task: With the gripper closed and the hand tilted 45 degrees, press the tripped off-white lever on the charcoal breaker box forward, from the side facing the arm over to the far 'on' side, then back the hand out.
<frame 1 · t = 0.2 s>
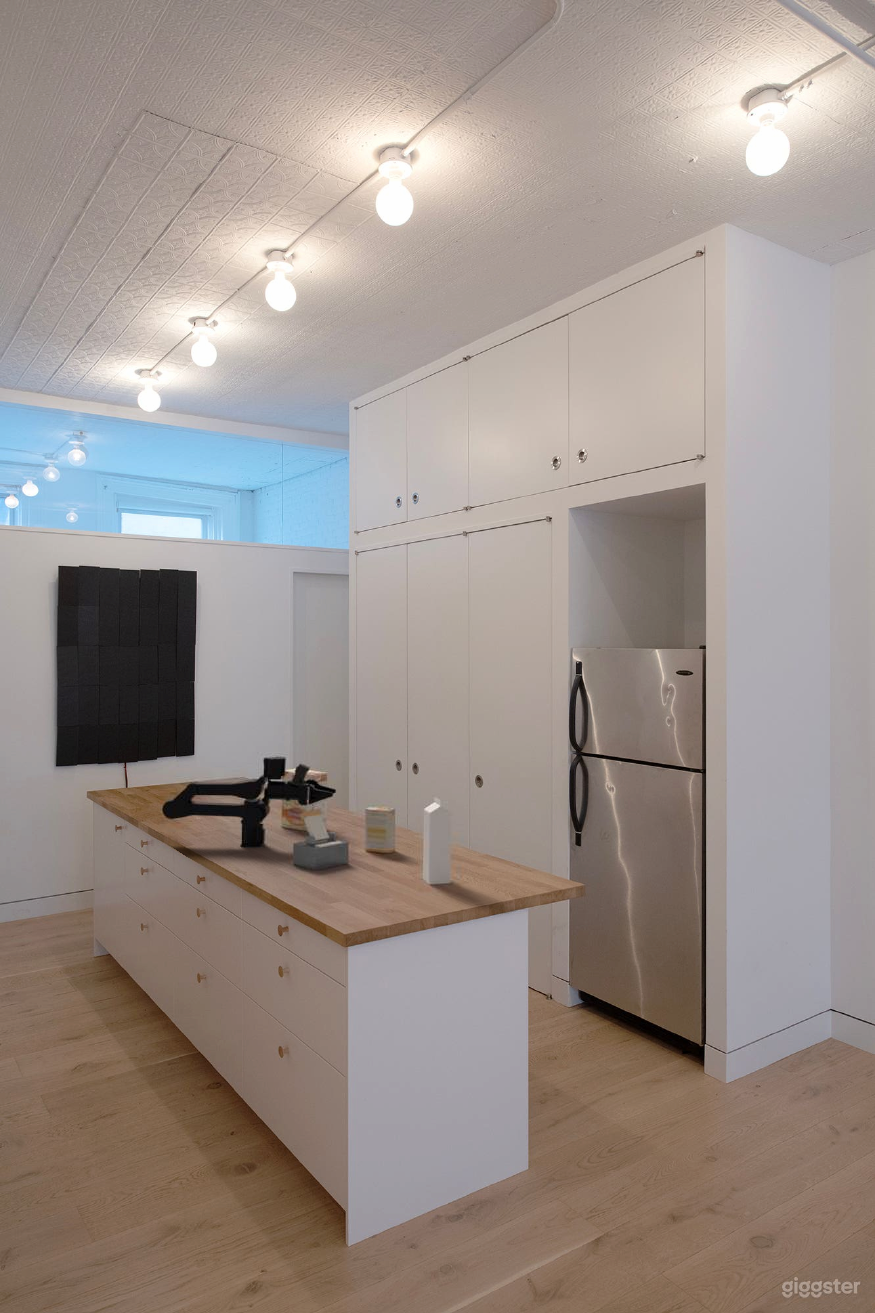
hand: (334, 792, 276), 16 cm above the table, tool horizontal, fingers open, 9 cm apart
supplement box: (380, 851, 269), on the table
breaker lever: (315, 826, 254), point 10 cm above the table, hinge at -35.0°
coffeecake box: (303, 828, 302), on the table
milk: (436, 882, 235), on the table
breaker box: (320, 863, 252), on the table
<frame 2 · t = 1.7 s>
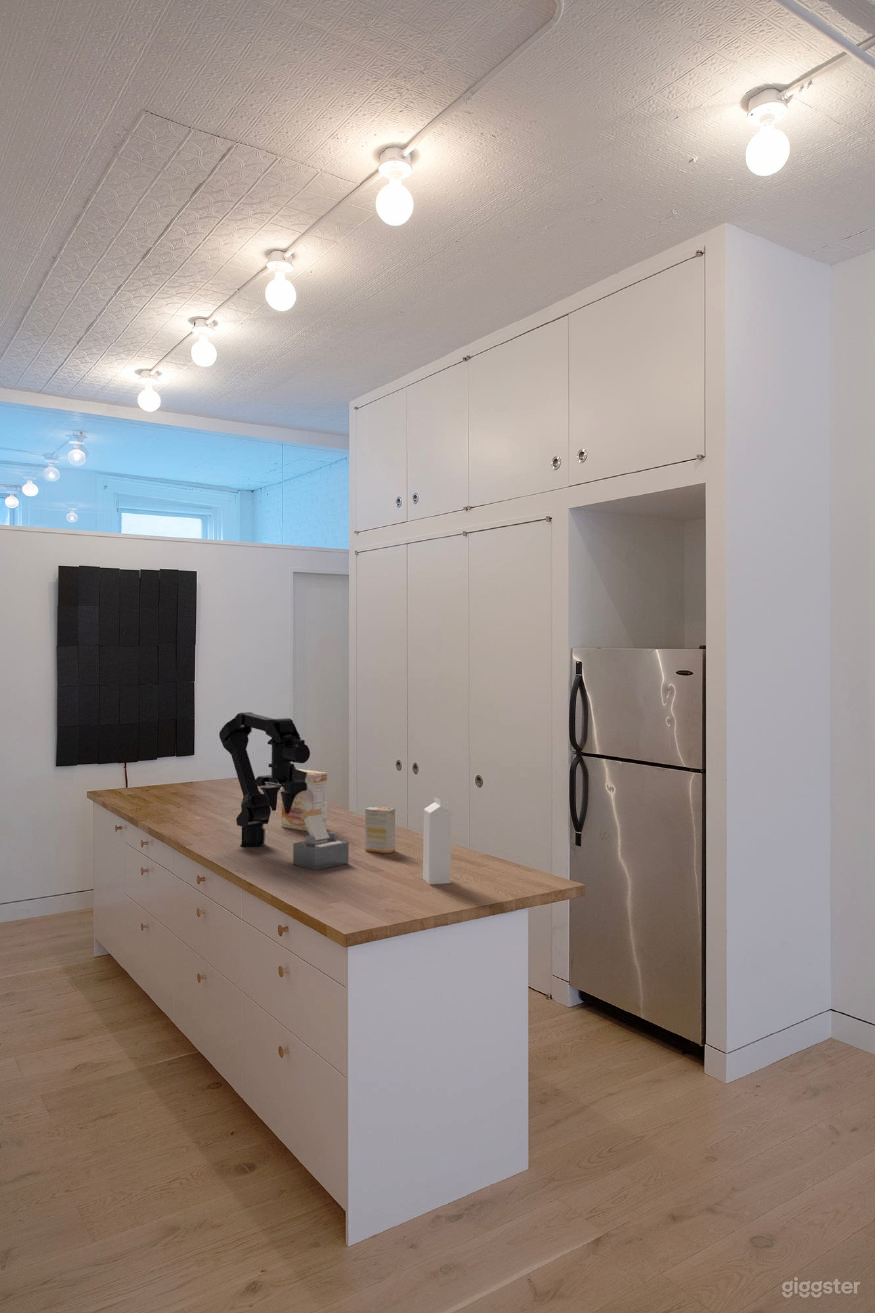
hand: (280, 812, 266), 12 cm above the table, tool pointing down, fingers open, 6 cm apart
nothing on the table moved.
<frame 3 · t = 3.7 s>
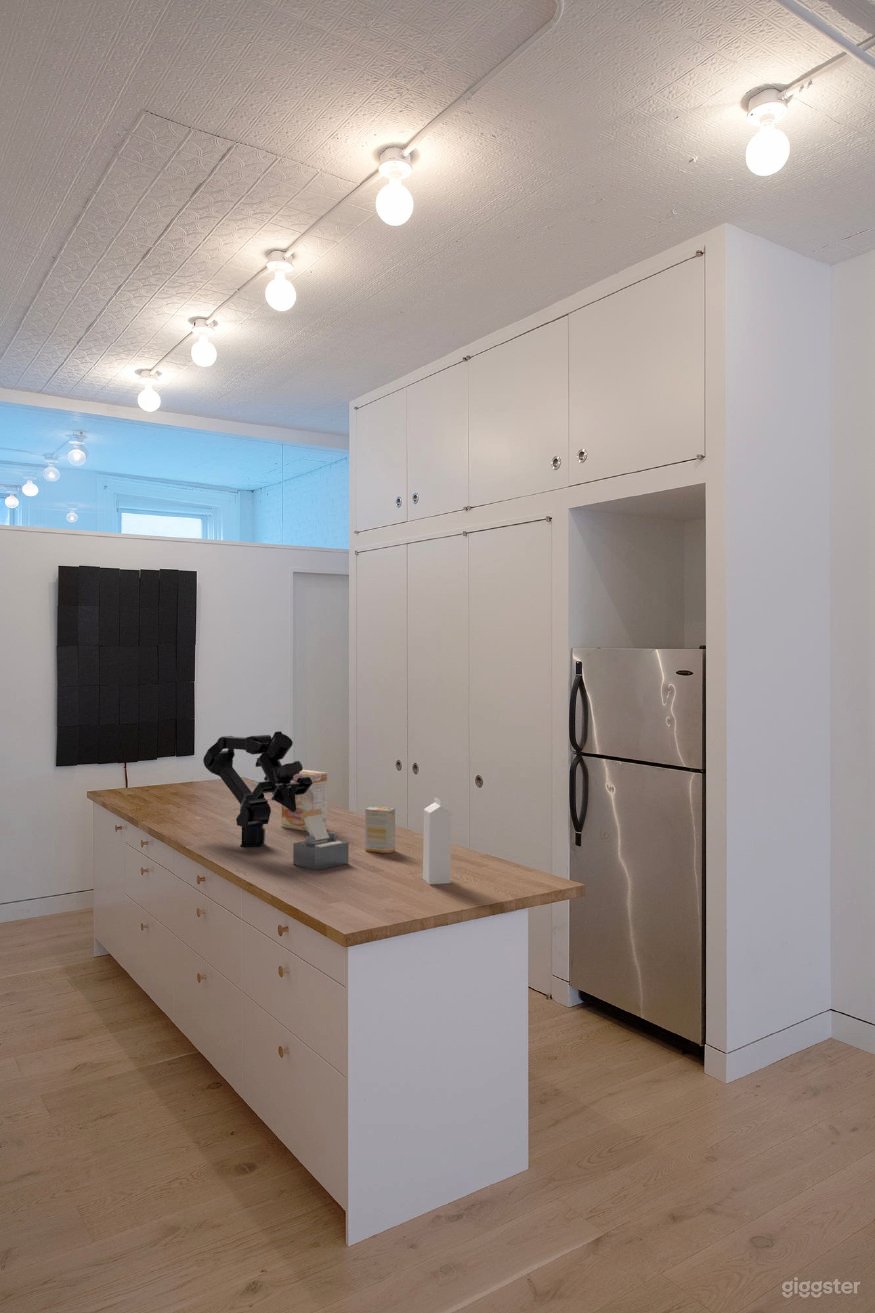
hand: (294, 811, 261), 13 cm above the table, tool tilted 45°, fingers closed
nothing on the table moved.
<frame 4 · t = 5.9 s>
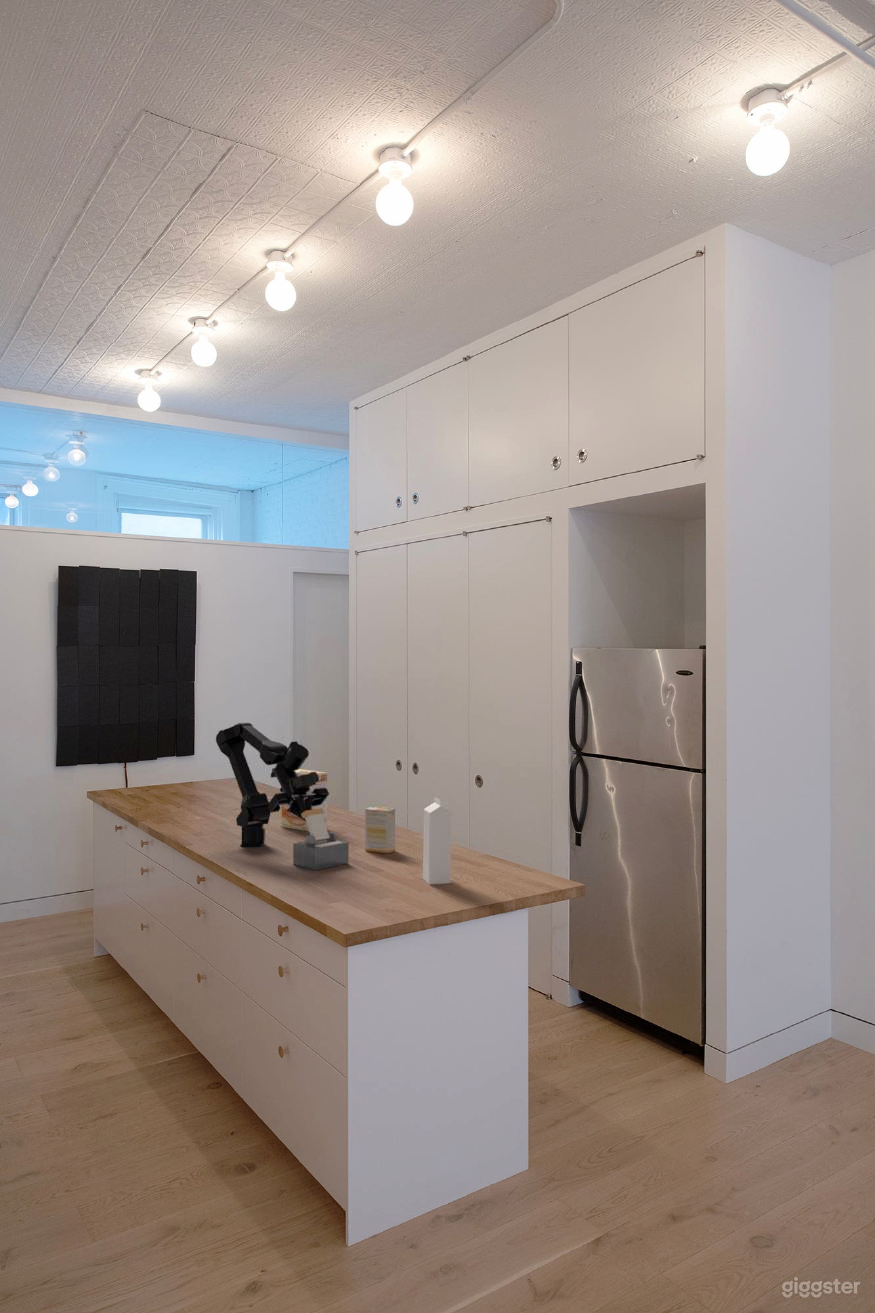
hand: (311, 823, 255), 11 cm above the table, tool tilted 45°, fingers closed, pressing on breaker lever
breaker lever: (316, 825, 254), point 11 cm above the table, hinge at -29.8°, touching gripper
everything else where it was.
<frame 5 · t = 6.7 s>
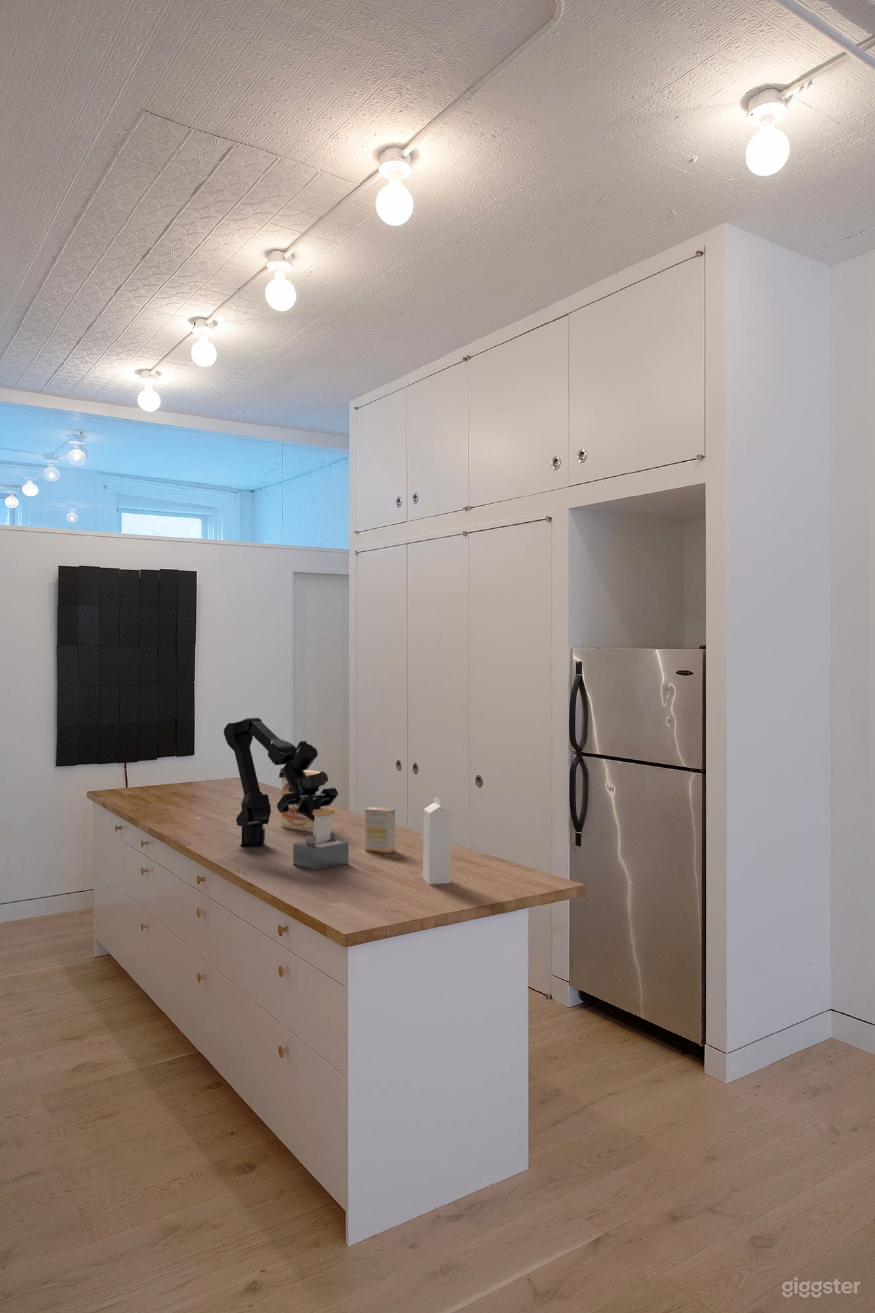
hand: (320, 823, 252), 11 cm above the table, tool tilted 45°, fingers closed, pressing on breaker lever
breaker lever: (322, 825, 252), point 11 cm above the table, hinge at 7.8°, touching gripper
everything else where it was.
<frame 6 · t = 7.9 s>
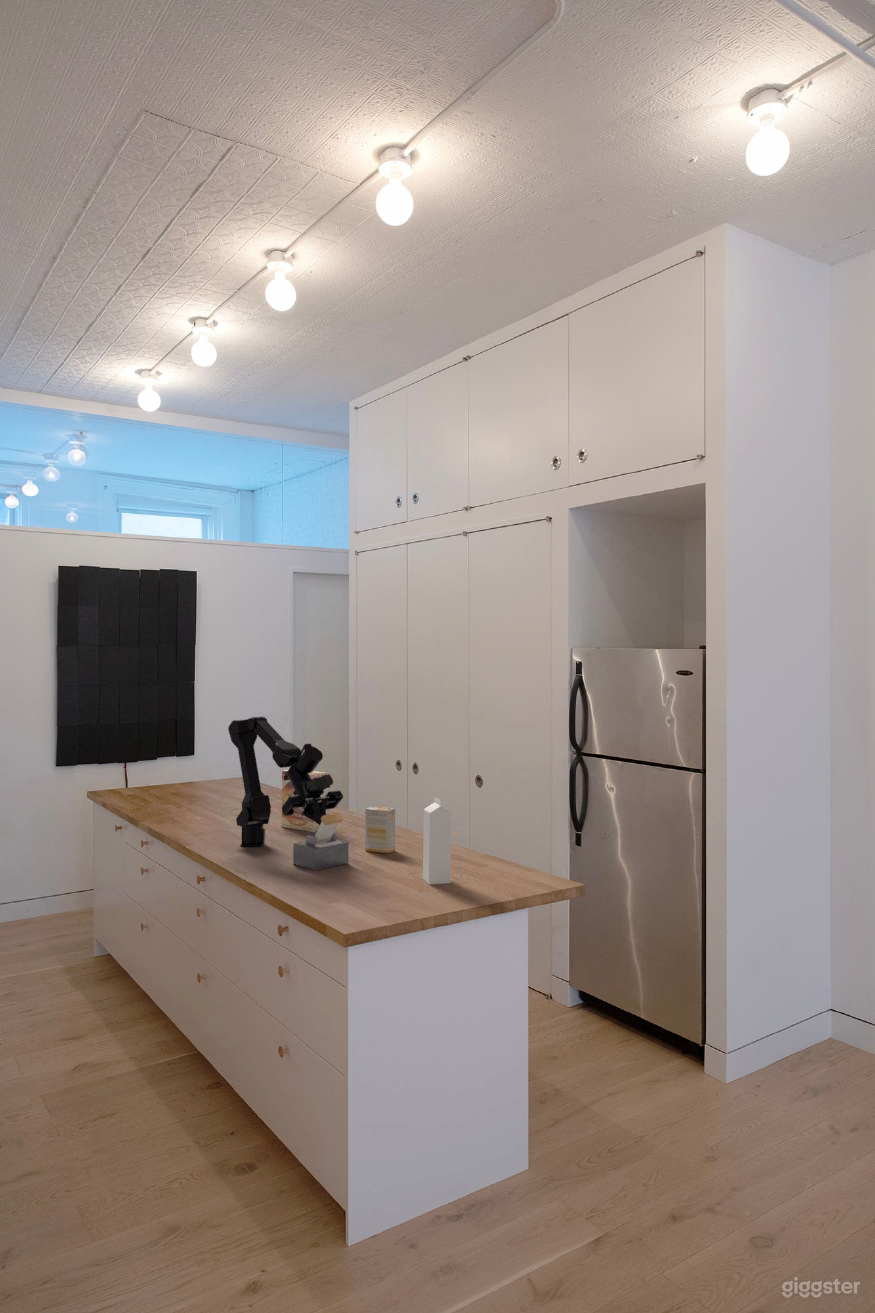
hand: (325, 826, 251), 11 cm above the table, tool tilted 45°, fingers closed, pressing on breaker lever
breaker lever: (327, 828, 250), point 10 cm above the table, hinge at 35.3°, touching gripper
everything else where it was.
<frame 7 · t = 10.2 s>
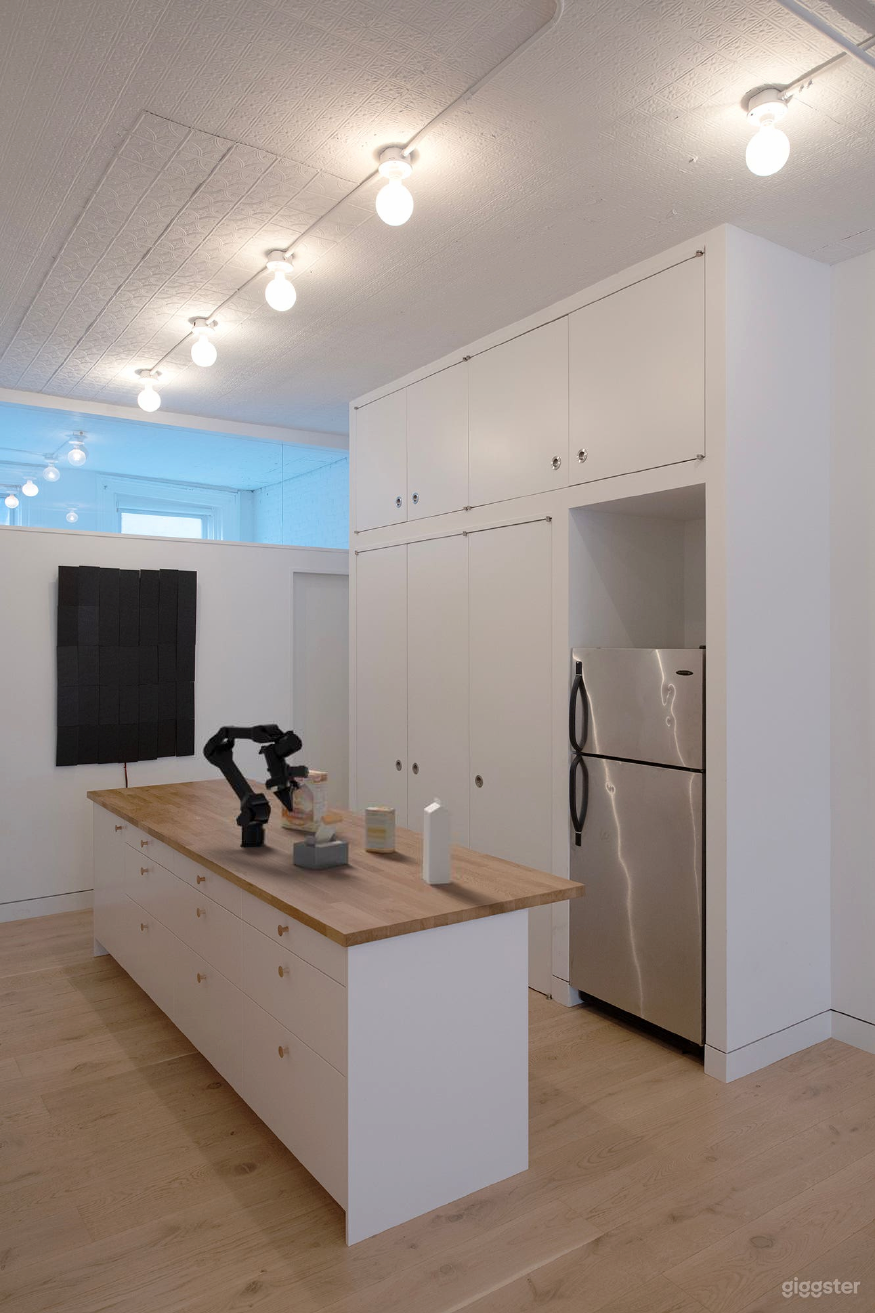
hand: (291, 811, 265), 12 cm above the table, tool tilted 25°, fingers closed
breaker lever: (327, 828, 250), point 10 cm above the table, hinge at 35.4°
everything else where it was.
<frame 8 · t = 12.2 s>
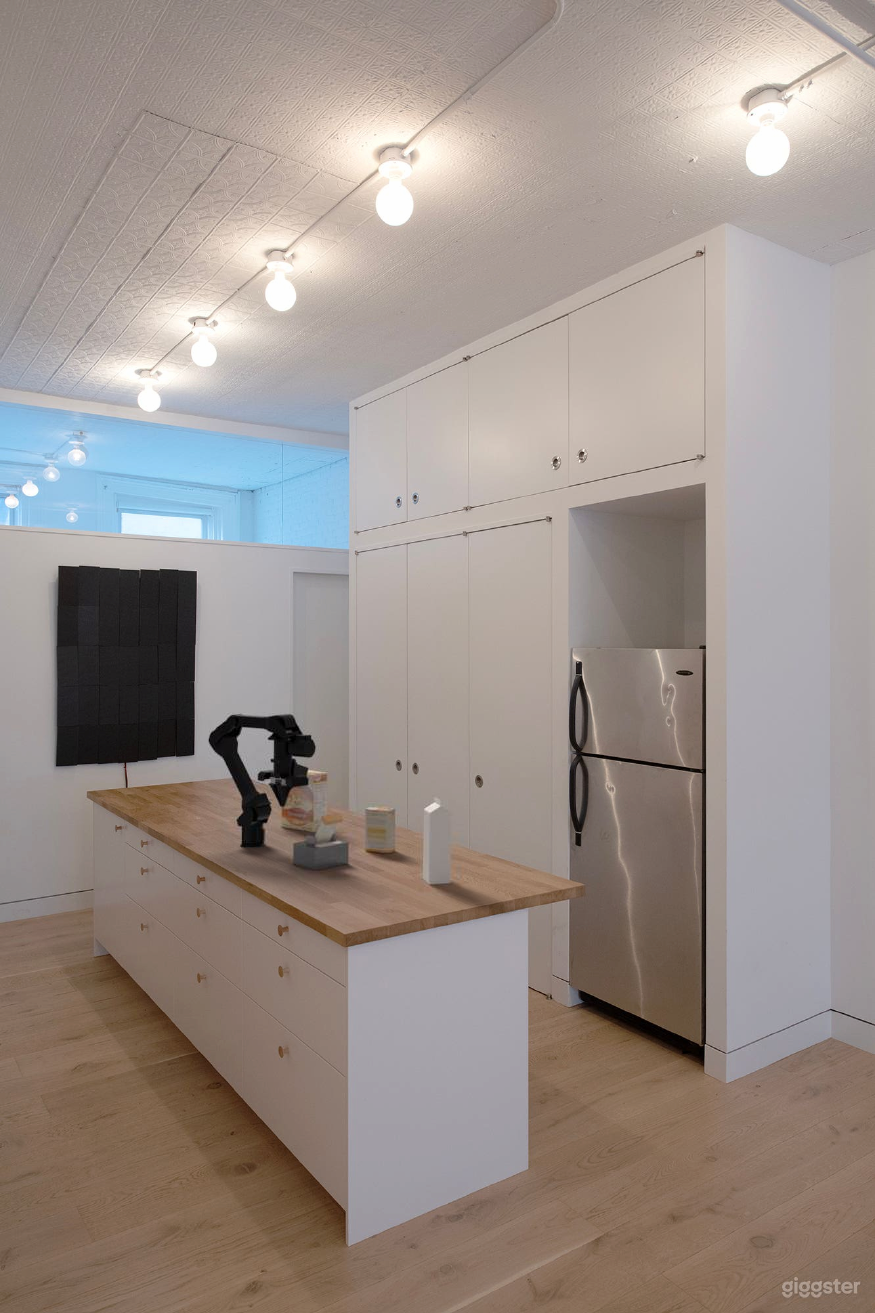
hand: (282, 806, 270), 13 cm above the table, tool pointing down, fingers closed
nothing on the table moved.
at the end: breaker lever at +35° (first picture: -35°); supplement box moved 0.2 cm from its start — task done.
